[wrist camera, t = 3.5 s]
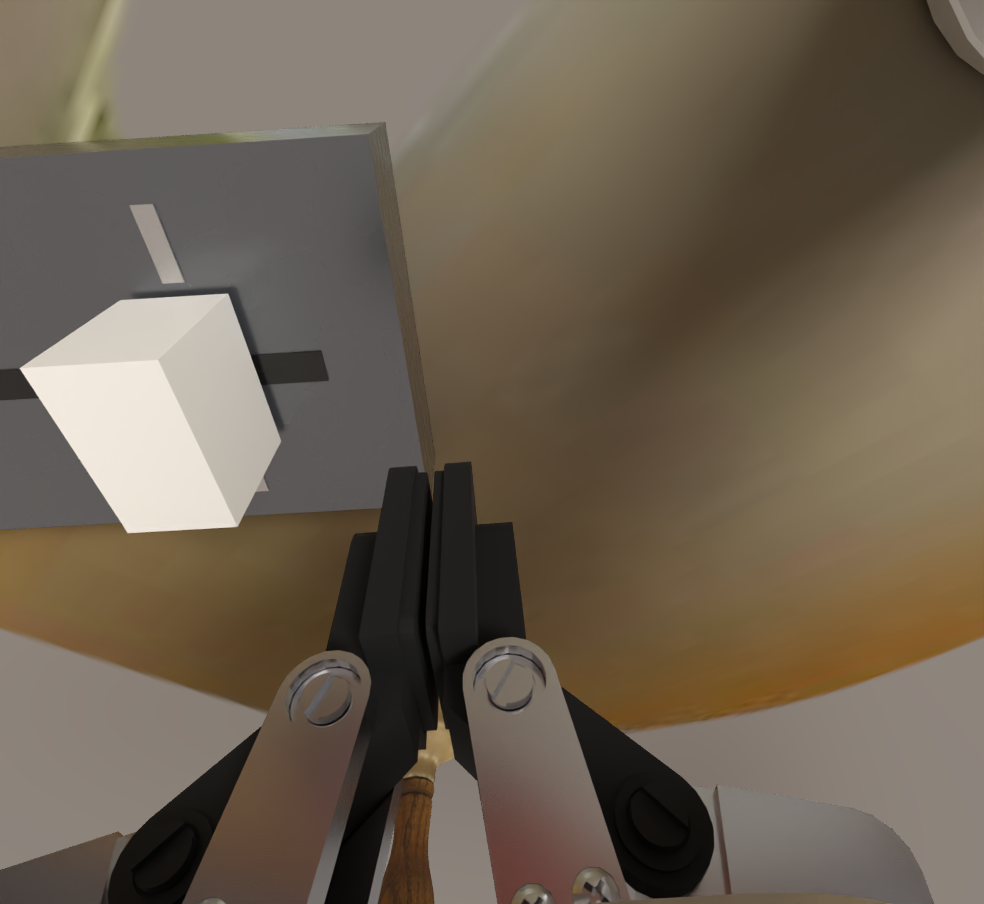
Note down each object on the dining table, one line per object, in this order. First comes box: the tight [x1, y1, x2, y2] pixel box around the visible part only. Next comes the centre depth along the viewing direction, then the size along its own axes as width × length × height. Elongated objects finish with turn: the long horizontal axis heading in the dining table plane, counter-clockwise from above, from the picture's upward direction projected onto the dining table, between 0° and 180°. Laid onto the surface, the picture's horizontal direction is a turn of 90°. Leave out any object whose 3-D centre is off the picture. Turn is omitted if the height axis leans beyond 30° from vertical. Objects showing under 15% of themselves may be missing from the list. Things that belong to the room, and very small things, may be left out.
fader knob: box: [20, 294, 281, 533], centre depth 14 cm, size 3×5×4 cm, turn 3°
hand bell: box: [378, 700, 454, 904], centre depth 24 cm, size 8×8×16 cm
